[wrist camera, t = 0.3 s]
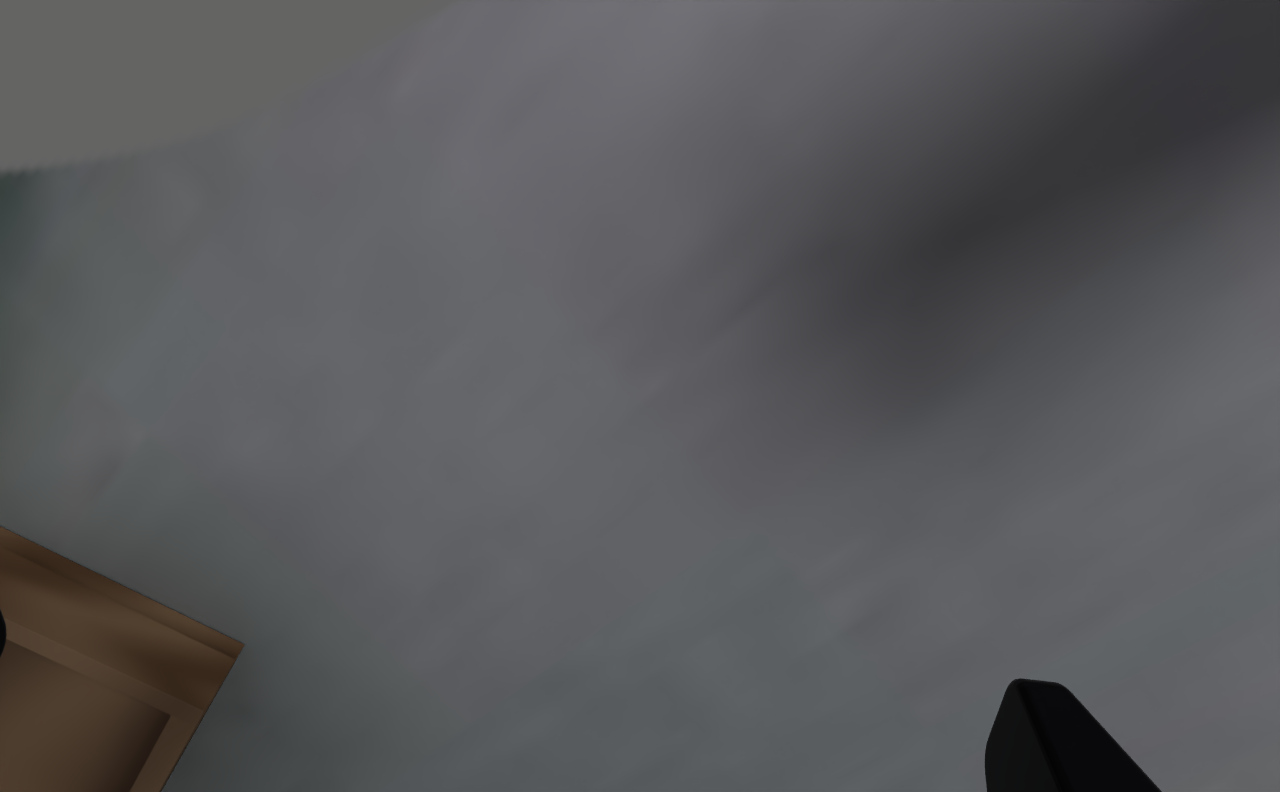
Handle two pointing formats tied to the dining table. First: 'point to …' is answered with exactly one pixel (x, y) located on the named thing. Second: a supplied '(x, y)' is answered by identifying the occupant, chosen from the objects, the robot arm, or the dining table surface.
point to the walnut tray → (96, 678)
